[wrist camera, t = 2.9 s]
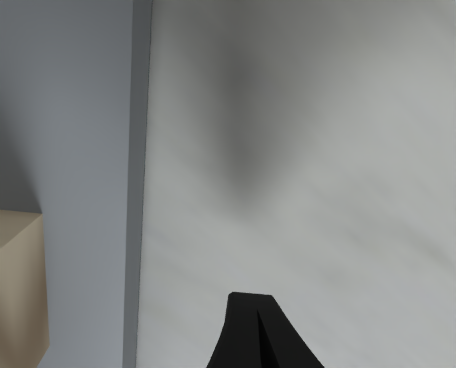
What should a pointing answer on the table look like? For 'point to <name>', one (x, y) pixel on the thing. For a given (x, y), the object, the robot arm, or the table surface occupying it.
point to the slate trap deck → (79, 163)
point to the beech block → (22, 290)
